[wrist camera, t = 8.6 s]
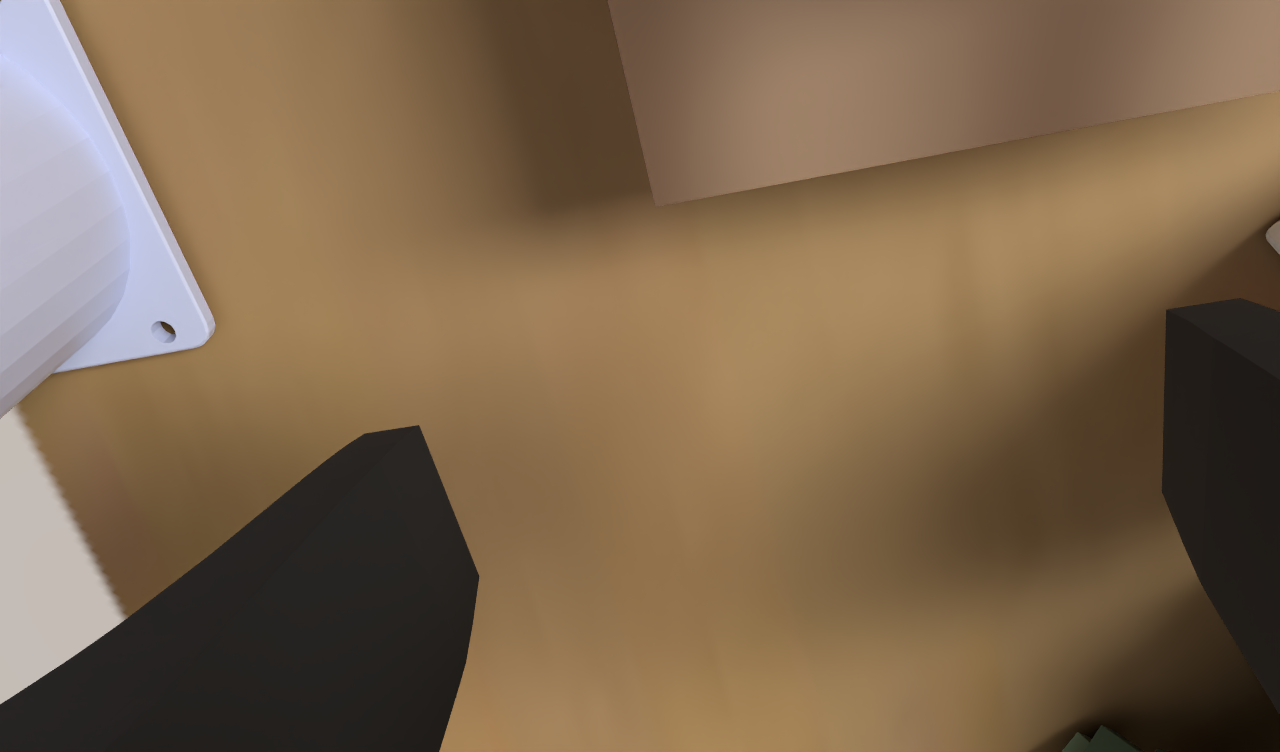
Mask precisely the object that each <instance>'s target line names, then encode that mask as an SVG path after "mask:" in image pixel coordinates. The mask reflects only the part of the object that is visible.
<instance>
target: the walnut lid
mask: <svg viewBox="0 0 1280 752" xmlns="http://www.w3.org/2000/svg"><path fill="white" fill-rule="evenodd" d="M607 1H608V5H609V10H610V14H611V18H612V23H613V27H614V31H615V36H616V40H617V44H618V48H619V53H620V57H621V61H622V66H623V70H624V74H625V78H626V83H627V87H628V91H629V96H630V100H631V104H632V109H633V113H634V117H635V121H636V126H637V130H638V134H639V139H640V143H641V147H642V152H643V156H644V160H645V164H646V169H647V173H648V177H649V182H650V186H651V190H652V194H653V199H654V203H655V207H659V206H665V205H670V204H675V203H681V202H686V201H691V200H697V199H702V198H708V197H713V196H718V195H724V194H729V193H734V192H740V191H745V190H751V189H756V188H761V187H767V186H772V185H777V184H783V183H788V182H794V181H799V180H804V179H810V178H815V177H820V176H826V175H831V174H837V173H842V172H847V171H853V170H858V169H863V168H869V167H874V166H880V165H885V164H890V163H896V162H901V161H906V160H912V159H917V158H923V157H928V156H933V155H939V154H944V153H949V152H955V151H960V150H966V149H971V148H976V147H982V146H987V145H992V144H998V143H1003V142H1009V141H1014V140H1019V139H1025V138H1030V137H1035V136H1041V135H1046V134H1052V133H1057V132H1062V131H1068V130H1073V129H1078V128H1084V127H1089V126H1095V125H1100V124H1105V123H1111V122H1116V121H1121V120H1127V119H1132V118H1138V117H1143V116H1148V115H1154V114H1159V113H1164V112H1170V111H1175V110H1181V109H1186V108H1191V107H1197V106H1202V105H1207V104H1213V103H1218V102H1224V101H1229V100H1234V99H1240V98H1245V97H1250V96H1256V95H1261V94H1267V93H1272V92H1277V91H1280V0H607Z"/></svg>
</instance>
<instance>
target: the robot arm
mask: <svg viewBox="0 0 1280 752" xmlns="http://www.w3.org/2000/svg"><path fill="white" fill-rule="evenodd" d="M160 321H162V322H166V323H168V324H170V325H171V326H172V327H173V329H174V330H175V333H176V334H171V333H169V332H167V331H165V329H164V328H163V327H162V326H161V322H160ZM214 331H215V322H214V318H213V315H212V313H211V311H210V309H209V307H208V305H207V303H206V301H205V299H204V297H203V295H202V293H201V291H200V289H199V287H198V285H197V282H196V280H195V278H194V276H193V274H192V272H191V270H190V268H189V266H188V264H187V262H186V260H185V258H184V256H183V254H182V252H181V249H180V247H179V245H178V243H177V241H176V239H175V237H174V235H173V233H172V231H171V229H170V227H169V225H168V223H167V221H166V219H165V216H164V214H163V212H162V210H161V208H160V206H159V204H158V202H157V200H156V198H155V196H154V194H153V192H152V190H151V188H150V186H149V183H148V181H147V179H146V177H145V175H144V173H143V171H142V169H141V167H140V165H139V163H138V161H137V159H136V157H135V155H134V153H133V150H132V148H131V146H130V144H129V142H128V140H127V138H126V136H125V134H124V132H123V130H122V128H121V126H120V124H119V122H118V120H117V117H116V115H115V113H114V111H113V109H112V107H111V105H110V103H109V101H108V99H107V97H106V95H105V93H104V91H103V89H102V87H101V85H100V82H99V80H98V78H97V76H96V74H95V72H94V70H93V68H92V66H91V64H90V62H89V60H88V58H87V56H86V54H85V52H84V49H83V47H82V45H81V43H80V41H79V39H78V37H77V35H76V33H75V31H74V29H73V27H72V25H71V23H70V21H69V19H68V16H67V14H66V12H65V10H64V8H63V6H62V4H61V2H60V0H1V1H0V418H2V417H3V416H4V415H5V414H6V413H7V412H8V411H10V410H11V409H12V408H13V407H14V406H15V405H16V404H18V403H19V402H20V401H21V400H22V399H23V398H24V397H25V396H27V395H28V394H29V393H30V392H31V391H32V390H33V389H35V388H36V387H37V386H38V385H39V384H40V383H41V382H43V381H44V380H45V379H46V378H47V377H48V376H49V375H51V374H52V373H57V372H63V371H69V370H74V369H80V368H86V367H91V366H97V365H103V364H108V363H114V362H119V361H125V360H131V359H136V358H142V357H148V356H153V355H159V354H165V353H170V352H176V351H181V350H187V349H193V348H197V347H199V346H202V345H204V344H205V343H206V341H207V340H208V339H209V338H210V337H211V336H212V335H213V333H214ZM1162 493H1163V495H1164V498H1165V500H1166V503H1167V505H1168V508H1169V510H1170V512H1171V515H1172V517H1173V520H1174V522H1175V525H1176V527H1177V530H1178V532H1179V534H1180V537H1181V539H1182V542H1183V544H1184V546H1185V549H1186V551H1187V553H1188V555H1189V558H1190V560H1191V562H1192V565H1193V567H1194V569H1195V571H1196V574H1197V576H1198V578H1199V580H1200V583H1201V585H1202V586H1203V588H1204V590H1205V591H1206V593H1207V595H1208V597H1209V598H1210V600H1211V602H1212V603H1213V605H1214V607H1215V609H1216V610H1217V612H1218V614H1219V615H1220V617H1221V619H1222V620H1223V622H1224V624H1225V625H1226V627H1227V629H1228V630H1229V632H1230V634H1231V635H1232V637H1233V639H1234V640H1235V642H1236V644H1237V645H1238V647H1239V649H1240V650H1241V652H1242V654H1243V655H1244V657H1245V659H1246V660H1247V662H1248V664H1249V665H1250V667H1251V669H1252V670H1253V672H1254V674H1255V675H1256V677H1257V678H1258V680H1259V682H1260V683H1261V685H1262V687H1263V688H1264V690H1265V692H1266V693H1267V695H1268V697H1269V698H1270V700H1271V701H1272V703H1273V705H1274V706H1275V708H1276V710H1277V711H1278V713H1279V715H1280V312H1278V311H1276V310H1273V309H1270V308H1268V307H1265V306H1262V305H1259V304H1256V303H1253V302H1250V301H1247V300H1244V299H1241V298H1239V299H1232V300H1226V301H1219V302H1213V303H1206V304H1200V305H1193V306H1187V307H1180V308H1174V309H1167V310H1166V344H1165V387H1164V430H1163V473H1162ZM478 582H479V574H478V572H477V569H476V567H475V564H474V562H473V559H472V557H471V554H470V552H469V549H468V547H467V544H466V542H465V539H464V537H463V534H462V532H461V529H460V527H459V524H458V522H457V519H456V517H455V514H454V512H453V509H452V507H451V504H450V502H449V499H448V497H447V494H446V492H445V489H444V487H443V484H442V482H441V479H440V477H439V474H438V472H437V469H436V466H435V464H434V461H433V459H432V456H431V454H430V451H429V449H428V446H427V444H426V441H425V439H424V436H423V434H422V431H421V429H420V426H419V425H418V426H411V427H405V428H398V429H392V430H385V431H379V432H372V433H366V434H364V435H362V436H360V437H359V438H357V439H356V440H354V441H353V442H351V443H349V444H348V445H346V446H345V447H344V448H342V449H341V450H339V451H338V452H337V453H335V454H334V455H333V456H331V457H330V458H329V459H327V460H326V461H325V462H324V463H322V464H321V465H320V466H318V467H317V468H316V469H315V470H313V471H312V472H311V473H310V474H308V475H307V476H306V477H305V478H303V479H302V480H301V481H300V482H299V483H297V484H296V485H295V486H294V487H292V488H291V489H290V490H289V491H287V492H286V493H285V494H284V495H283V496H281V497H280V498H279V499H278V500H277V501H275V502H274V503H273V504H272V505H270V506H269V507H268V508H267V509H266V510H264V511H263V512H262V513H261V514H259V515H258V516H257V517H256V518H255V519H253V520H252V521H251V522H250V523H248V524H247V525H246V526H245V527H244V528H242V529H241V530H240V531H239V532H237V533H236V534H235V535H234V536H233V537H231V538H230V539H229V540H228V541H226V542H225V543H224V544H223V545H222V546H220V547H219V548H218V549H217V550H215V551H214V552H213V553H212V554H210V555H209V556H208V557H207V558H205V559H204V560H203V561H201V562H200V563H199V564H197V565H196V566H195V567H194V568H192V569H191V570H190V571H188V572H187V573H186V574H184V575H183V576H182V577H181V578H179V579H178V580H177V581H175V582H174V583H173V584H171V585H170V586H169V587H167V588H166V589H165V590H164V591H162V592H161V593H160V594H158V595H157V596H156V597H154V598H153V599H152V600H151V601H149V602H148V603H147V604H145V605H144V606H143V607H141V608H140V609H139V610H137V611H136V612H135V613H134V614H132V615H131V616H130V617H128V618H127V619H126V620H124V621H123V622H122V623H120V624H119V625H118V626H116V627H115V628H113V629H112V630H111V631H109V632H108V633H106V634H105V635H104V636H102V637H101V638H100V639H98V640H97V641H95V642H94V643H92V644H91V645H90V646H88V647H87V648H85V649H84V650H82V651H81V652H79V653H78V654H77V655H75V656H74V657H72V658H71V659H69V660H68V661H66V662H65V663H64V664H62V665H60V666H59V667H57V668H56V669H54V670H52V671H51V672H49V673H48V674H46V675H45V676H43V677H42V678H40V679H39V680H37V681H36V682H34V683H33V684H31V685H30V686H28V687H27V688H25V689H24V690H22V691H20V692H19V693H17V694H16V695H14V696H13V697H11V698H10V699H8V700H7V701H5V702H3V703H2V704H0V752H439V750H440V747H441V744H442V741H443V738H444V734H445V731H446V728H447V725H448V721H449V718H450V715H451V711H452V708H453V705H454V701H455V698H456V695H457V691H458V688H459V685H460V681H461V678H462V674H463V671H464V667H465V664H466V659H467V653H468V647H469V642H470V636H471V630H472V625H473V618H474V611H475V603H476V596H477V589H478Z"/></svg>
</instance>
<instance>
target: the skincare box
mask: <svg viewBox="0 0 1280 752" xmlns="http://www.w3.org/2000/svg"><path fill="white" fill-rule="evenodd" d="M1266 238H1267V241H1268V242H1269V243H1270V244H1271V246H1272V247H1273V248H1274V249H1275V250H1276V251H1277V252H1278V253H1279V254H1280V220H1279V221H1278V222H1276V223H1275V224H1274V225H1272V226H1271V227H1270V228H1269V229H1268V231H1267V233H1266Z"/></svg>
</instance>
